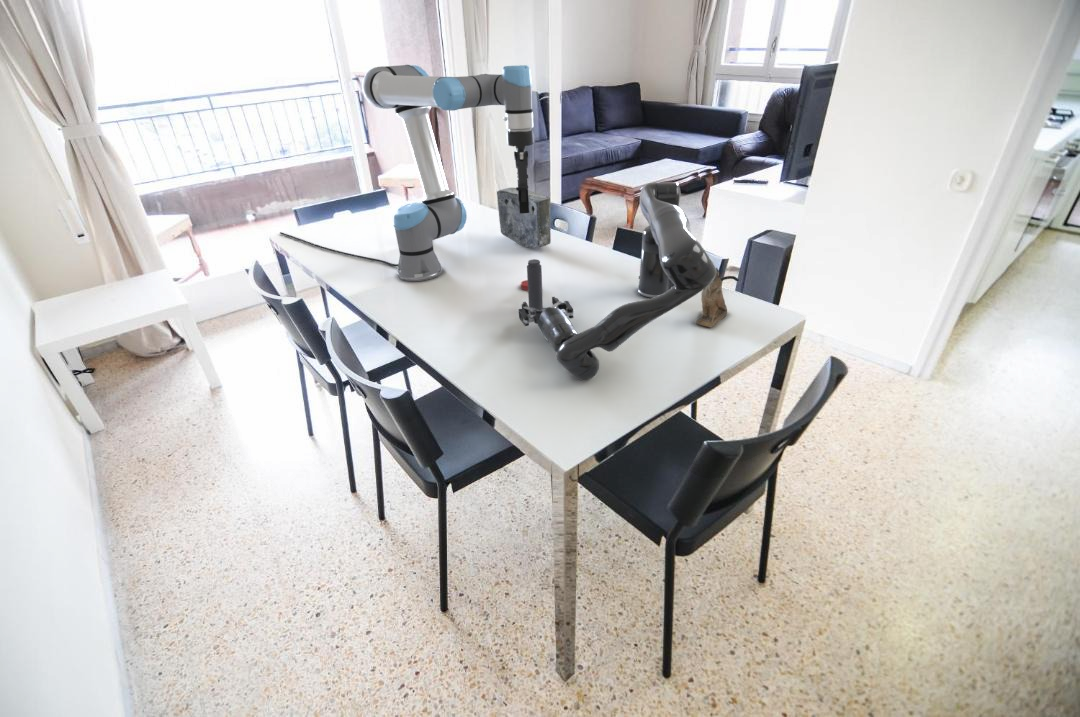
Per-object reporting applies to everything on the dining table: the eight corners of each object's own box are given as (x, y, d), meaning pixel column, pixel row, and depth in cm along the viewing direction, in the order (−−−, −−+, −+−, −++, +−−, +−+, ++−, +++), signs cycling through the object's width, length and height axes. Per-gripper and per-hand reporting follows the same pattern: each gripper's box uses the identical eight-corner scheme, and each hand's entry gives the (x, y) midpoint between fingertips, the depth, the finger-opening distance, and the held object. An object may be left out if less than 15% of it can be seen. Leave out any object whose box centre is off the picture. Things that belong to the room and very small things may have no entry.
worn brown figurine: (709, 335, 136) (713, 280, 124) (691, 329, 139) (693, 274, 128) (730, 313, 142) (736, 258, 130) (712, 307, 145) (716, 253, 133)
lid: (538, 286, 163) (538, 281, 162) (531, 291, 160) (530, 286, 159) (526, 283, 165) (525, 278, 165) (518, 288, 162) (518, 284, 161)
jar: (528, 314, 146) (525, 263, 138) (530, 307, 150) (527, 258, 141) (542, 314, 146) (540, 264, 138) (543, 308, 149) (542, 258, 141)
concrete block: (555, 250, 192) (555, 197, 181) (537, 255, 188) (535, 201, 177) (517, 234, 210) (514, 185, 200) (499, 238, 206) (496, 189, 196)
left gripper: (506, 124, 149) (510, 197, 160) (506, 136, 127) (511, 219, 138) (531, 123, 149) (534, 196, 160) (535, 135, 128) (538, 217, 139)
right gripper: (530, 345, 127) (515, 318, 141) (582, 335, 130) (562, 309, 144) (528, 319, 123) (513, 293, 137) (582, 310, 126) (562, 286, 140)
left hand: (523, 206), depth 149 cm, fingers open, 13 cm apart
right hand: (538, 302), depth 140 cm, fingers open, 8 cm apart
